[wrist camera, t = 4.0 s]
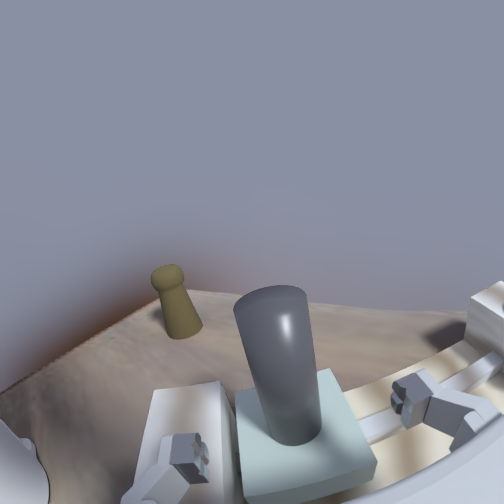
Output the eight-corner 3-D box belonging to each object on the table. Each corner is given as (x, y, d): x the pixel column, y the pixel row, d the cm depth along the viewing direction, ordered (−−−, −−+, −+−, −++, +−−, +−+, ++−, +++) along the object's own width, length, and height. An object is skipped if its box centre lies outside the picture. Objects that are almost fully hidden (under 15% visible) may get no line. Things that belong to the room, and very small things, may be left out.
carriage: (259, 517, 13) (177, 387, 9) (246, 423, 23) (197, 282, 19) (370, 487, 13) (396, 330, 9) (332, 402, 23) (316, 253, 19)
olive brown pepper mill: (183, 317, 49) (164, 260, 46) (209, 321, 46) (190, 259, 43) (161, 335, 44) (137, 275, 41) (187, 342, 41) (163, 276, 38)
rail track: (173, 536, 12) (123, 503, 10) (181, 434, 24) (151, 384, 22) (552, 375, 14) (574, 316, 11) (491, 328, 25) (501, 275, 23)
